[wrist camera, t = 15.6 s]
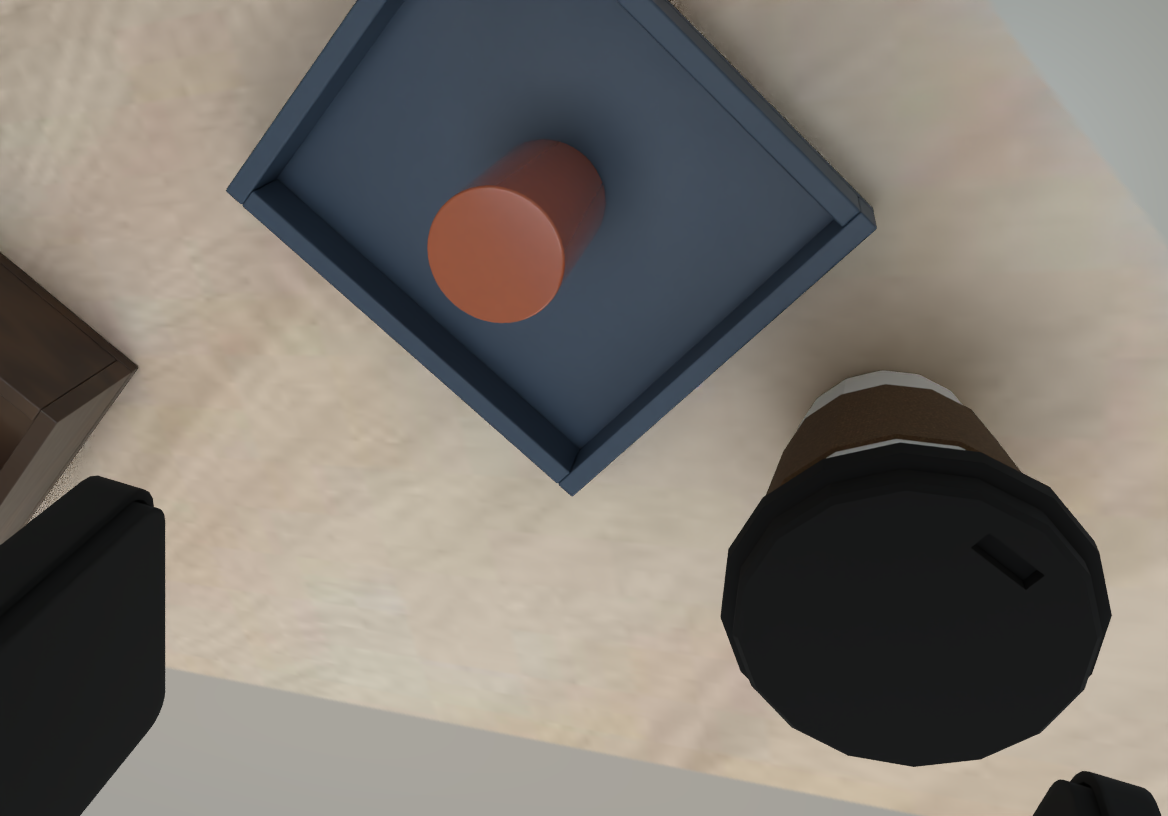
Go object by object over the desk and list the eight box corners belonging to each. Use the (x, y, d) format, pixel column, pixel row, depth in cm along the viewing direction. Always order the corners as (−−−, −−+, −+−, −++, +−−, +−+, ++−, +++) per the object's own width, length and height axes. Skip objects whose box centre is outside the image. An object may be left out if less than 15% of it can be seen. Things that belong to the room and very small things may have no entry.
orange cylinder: (466, 199, 37) (399, 256, 31) (540, 112, 35) (484, 154, 29) (553, 279, 38) (503, 350, 32) (630, 198, 36) (593, 258, 30)
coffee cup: (875, 250, 36) (902, 392, 25) (1101, 430, 37) (1216, 638, 26) (686, 450, 41) (642, 638, 30) (890, 603, 42) (916, 834, 32)
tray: (257, 175, 39) (224, 190, 37) (500, -170, 32) (477, -177, 30) (584, 466, 42) (572, 497, 40) (873, 208, 35) (877, 228, 33)
